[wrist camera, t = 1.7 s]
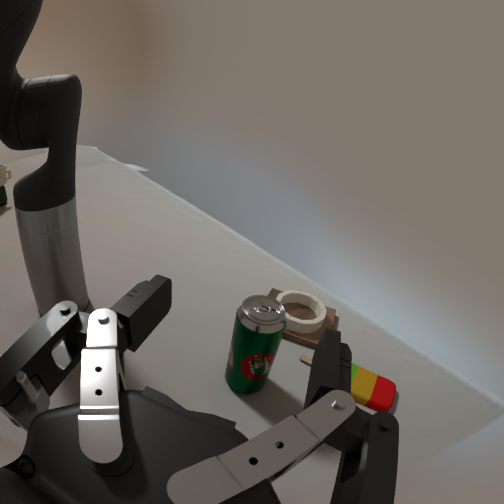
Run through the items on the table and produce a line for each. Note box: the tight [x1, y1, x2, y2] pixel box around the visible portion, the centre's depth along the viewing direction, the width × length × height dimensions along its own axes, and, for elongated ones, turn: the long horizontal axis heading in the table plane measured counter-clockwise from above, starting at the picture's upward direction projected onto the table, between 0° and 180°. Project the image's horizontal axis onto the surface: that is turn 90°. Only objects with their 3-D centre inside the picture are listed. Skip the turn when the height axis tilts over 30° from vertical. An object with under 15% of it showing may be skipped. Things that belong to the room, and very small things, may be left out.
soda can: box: [225, 295, 287, 394], centre depth 29 cm, size 5×5×12 cm
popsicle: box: [300, 355, 396, 412], centre depth 33 cm, size 6×15×2 cm, turn 57°
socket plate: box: [268, 288, 336, 349], centre depth 43 cm, size 12×10×3 cm
